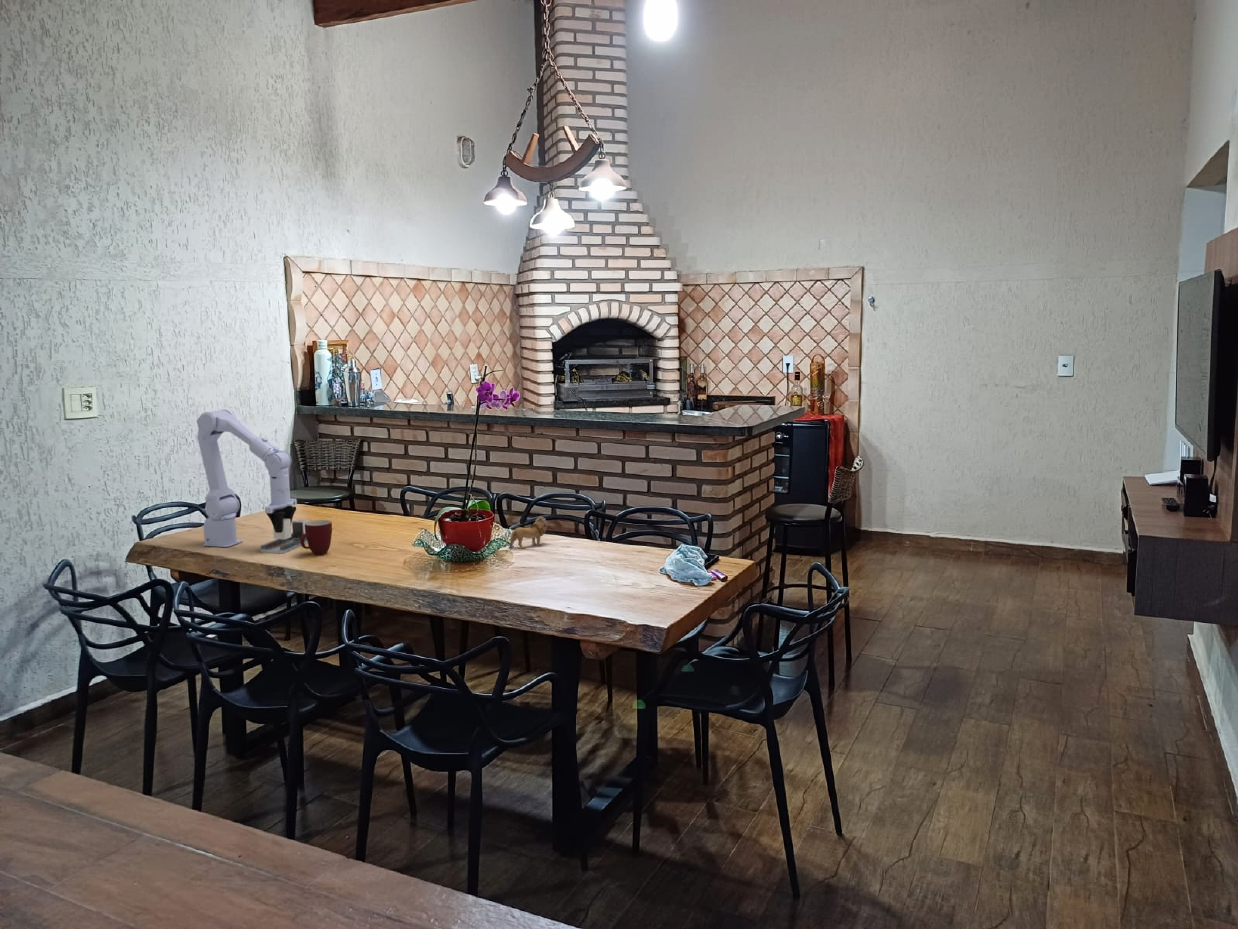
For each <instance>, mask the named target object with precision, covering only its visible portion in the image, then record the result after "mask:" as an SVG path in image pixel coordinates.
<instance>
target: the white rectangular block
mask: <svg viewBox="0 0 1238 929" xmlns="http://www.w3.org/2000/svg"><path fill="white" fill-rule="evenodd" d="M272 531H273V539H274V540H276V539H284V540H285V539H288V538H290V537H291V533H292V523H291V522H290V519H283V530H282V532H281V533H276V532H275V530H274V527H273V529H272Z"/></svg>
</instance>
